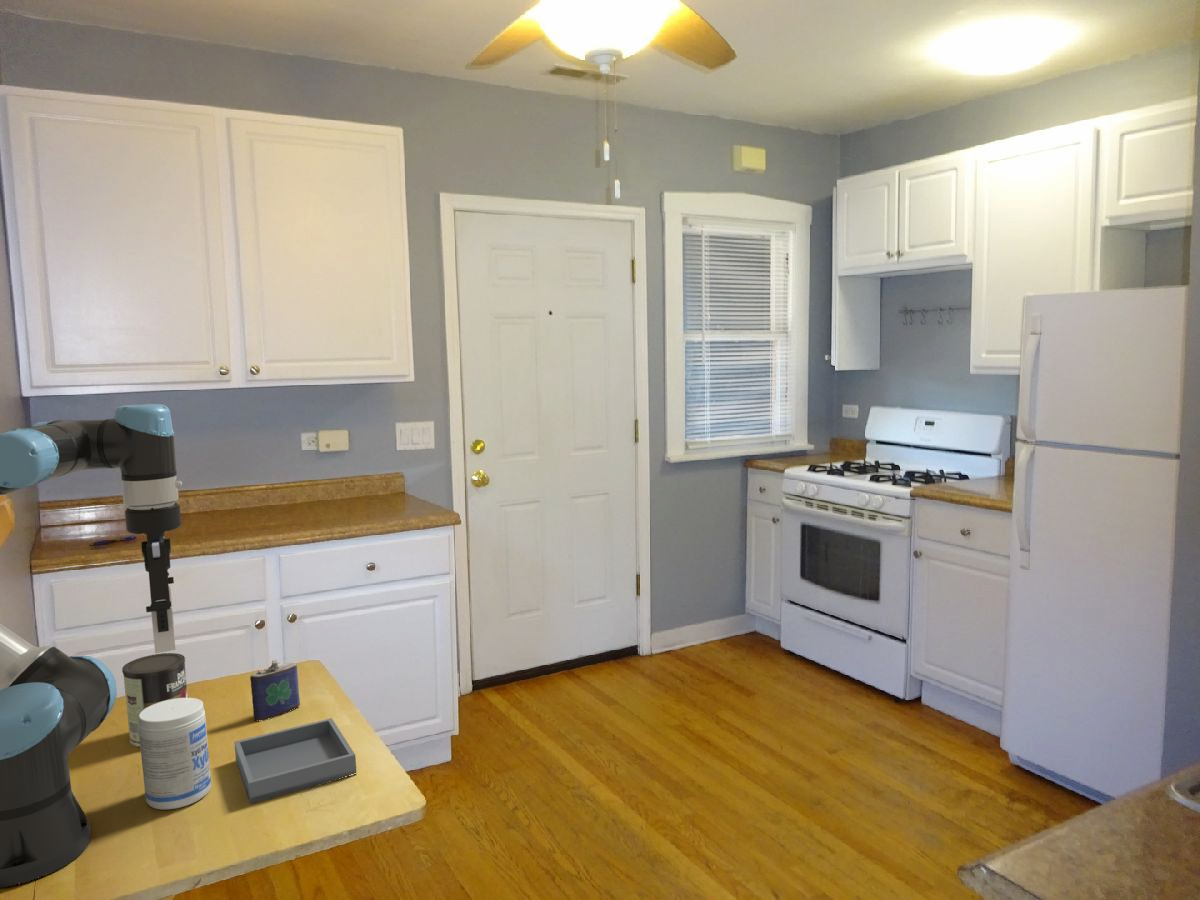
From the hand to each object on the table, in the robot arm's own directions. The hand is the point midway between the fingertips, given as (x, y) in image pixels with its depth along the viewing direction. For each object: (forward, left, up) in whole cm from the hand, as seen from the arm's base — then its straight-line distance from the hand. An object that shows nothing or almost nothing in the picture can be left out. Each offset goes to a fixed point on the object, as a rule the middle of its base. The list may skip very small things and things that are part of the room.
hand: (164, 637), depth 131 cm
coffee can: (+16, +21, -27) cm, 37 cm away
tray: (+13, -12, -26) cm, 32 cm away
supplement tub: (0, 0, -27) cm, 27 cm away
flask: (+30, +6, -27) cm, 40 cm away
